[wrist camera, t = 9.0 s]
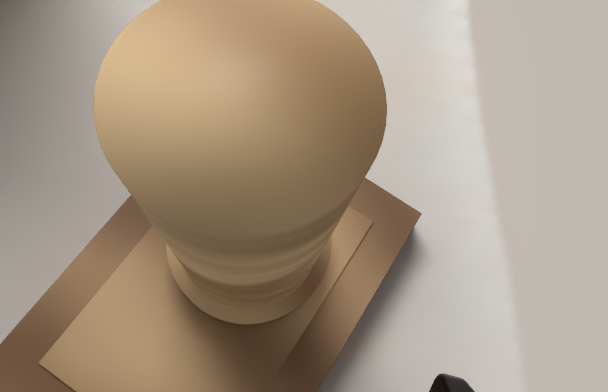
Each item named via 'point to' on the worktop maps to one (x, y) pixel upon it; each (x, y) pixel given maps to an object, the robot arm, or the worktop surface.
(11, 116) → the worktop surface
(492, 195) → the worktop surface
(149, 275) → the walnut board
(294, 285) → the wooden chess pawn
